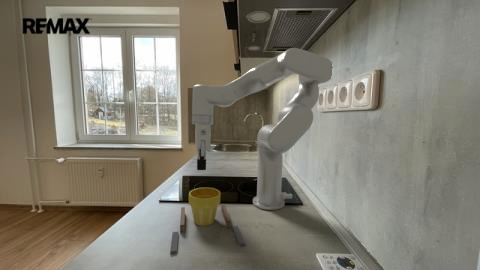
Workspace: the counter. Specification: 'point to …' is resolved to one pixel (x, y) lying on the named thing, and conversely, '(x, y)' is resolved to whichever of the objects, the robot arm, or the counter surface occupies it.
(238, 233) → the rubber strips
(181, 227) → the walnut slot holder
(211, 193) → the plant pot
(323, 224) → the counter surface
